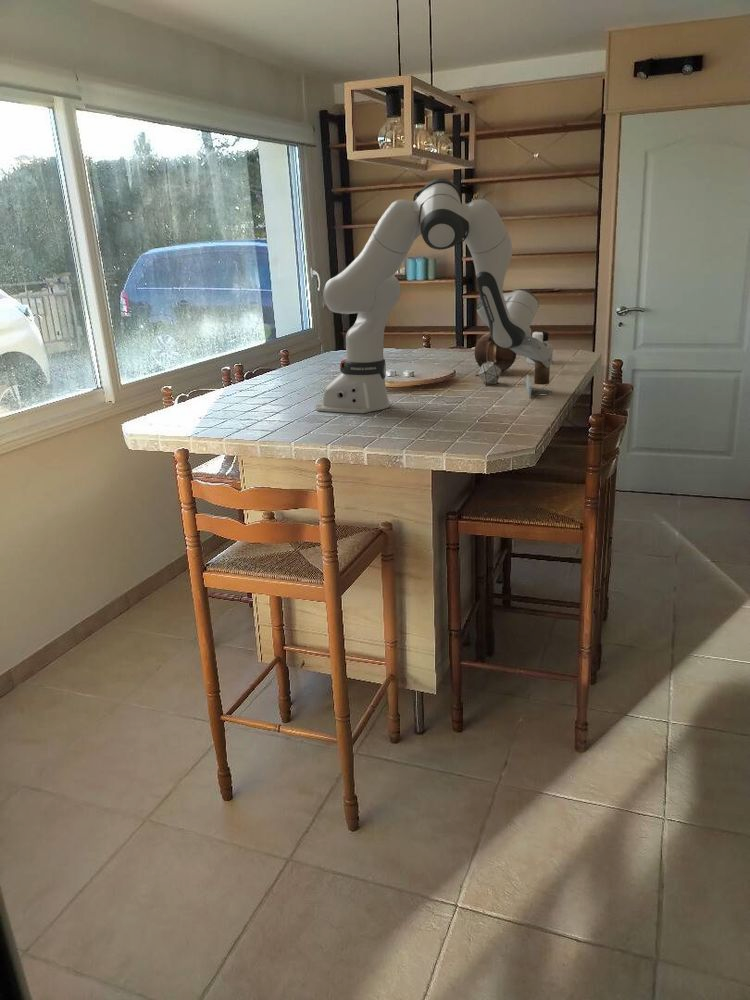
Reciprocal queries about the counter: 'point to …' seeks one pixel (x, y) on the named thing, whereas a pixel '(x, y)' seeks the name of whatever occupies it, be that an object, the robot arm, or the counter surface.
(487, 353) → the wooden sphere
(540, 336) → the medicine bottle
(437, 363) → the counter surface
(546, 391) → the slate coaster
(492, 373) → the game die
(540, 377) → the pepper mill
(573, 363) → the counter surface
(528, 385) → the clear wall
